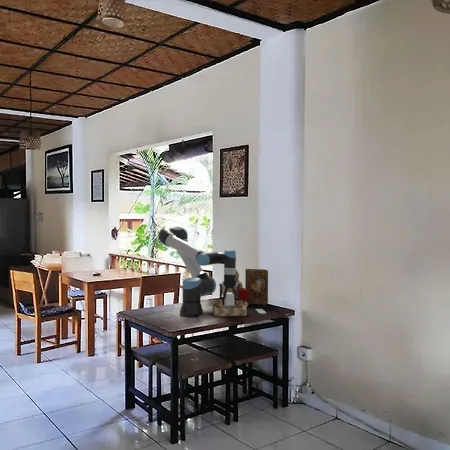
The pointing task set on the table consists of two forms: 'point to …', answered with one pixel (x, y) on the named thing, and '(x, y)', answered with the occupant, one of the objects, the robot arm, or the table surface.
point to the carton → (230, 309)
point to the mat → (261, 311)
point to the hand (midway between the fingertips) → (229, 309)
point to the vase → (235, 285)
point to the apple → (242, 294)
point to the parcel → (229, 300)
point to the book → (257, 286)
